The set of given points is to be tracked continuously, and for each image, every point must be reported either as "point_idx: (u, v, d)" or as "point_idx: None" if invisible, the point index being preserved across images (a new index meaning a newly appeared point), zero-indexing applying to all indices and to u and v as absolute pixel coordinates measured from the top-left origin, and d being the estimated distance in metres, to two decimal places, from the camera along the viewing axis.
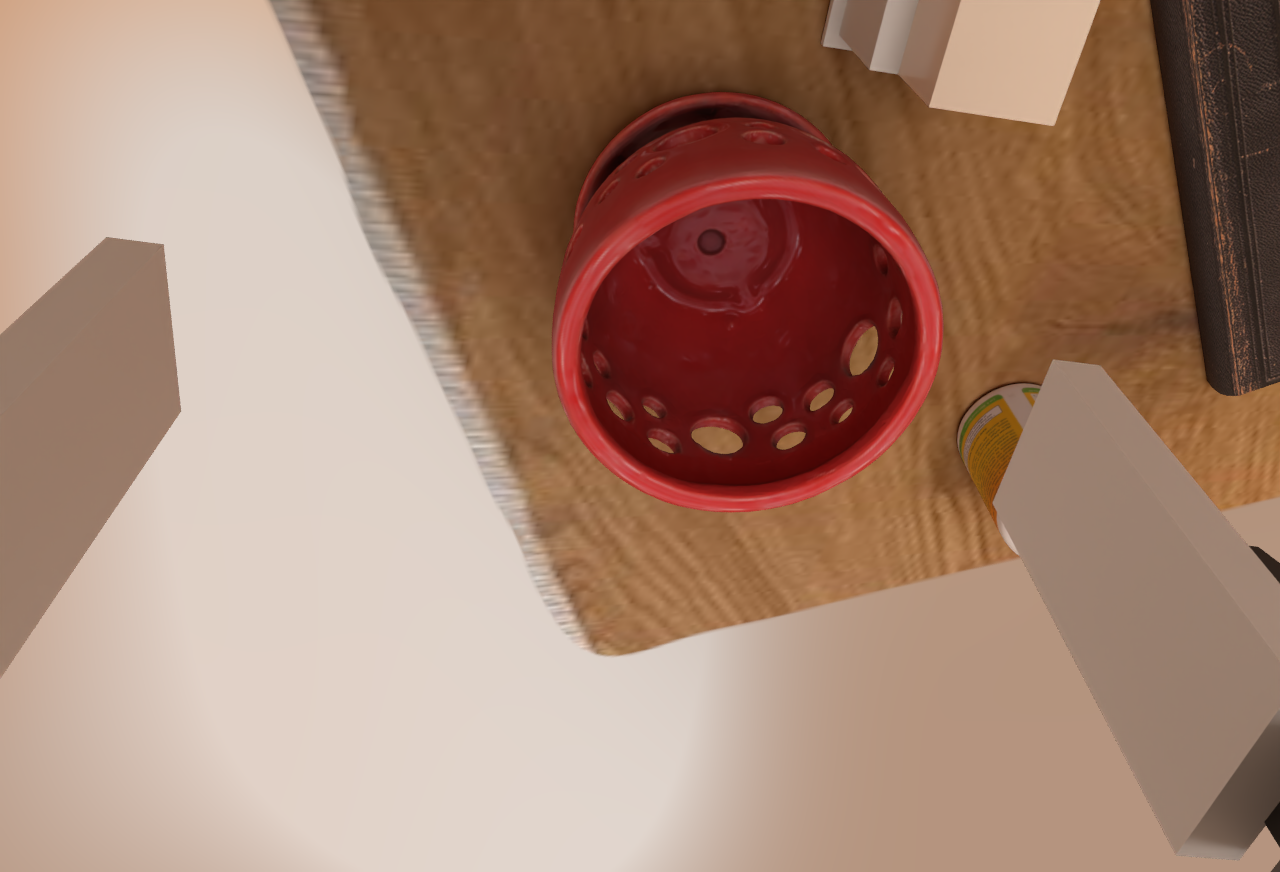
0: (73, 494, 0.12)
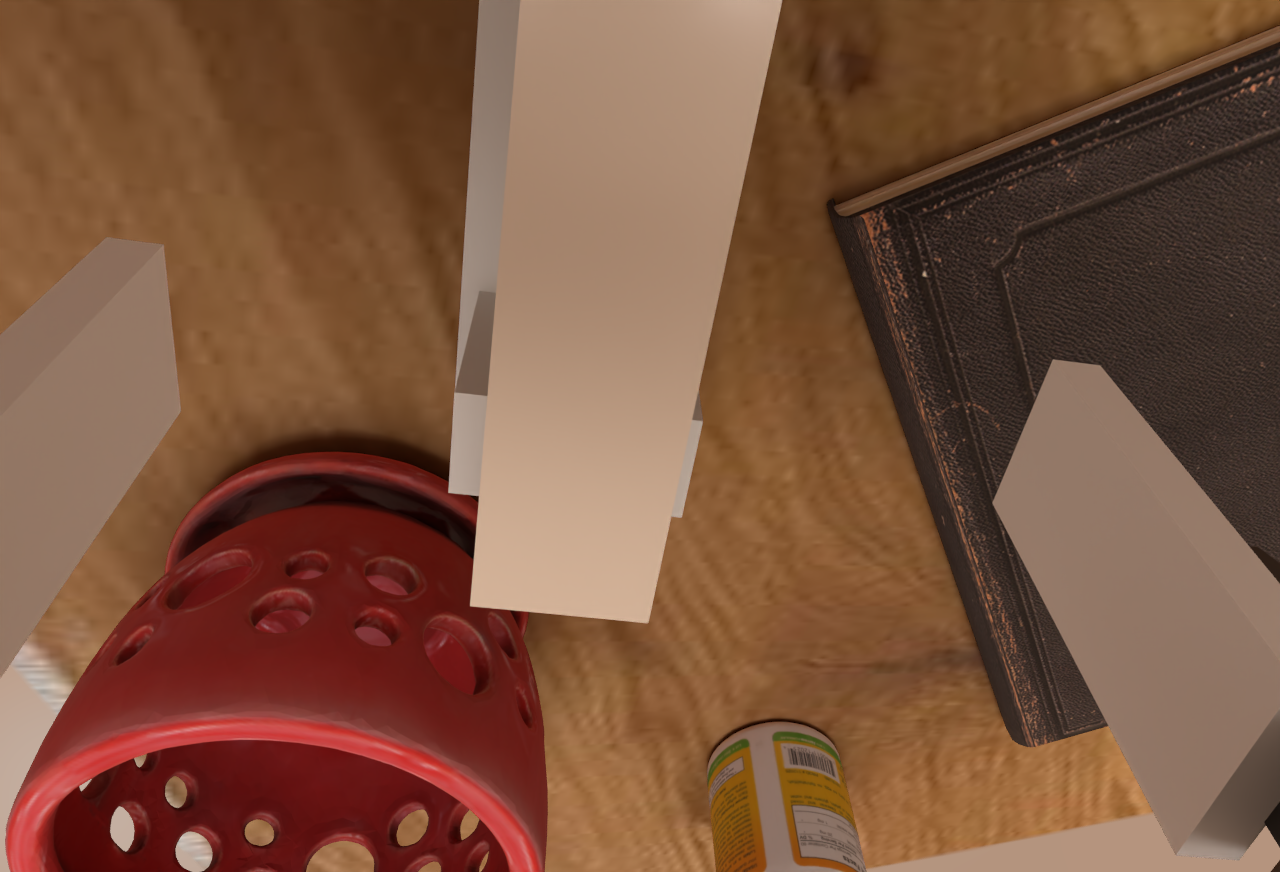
0: (73, 493, 0.12)
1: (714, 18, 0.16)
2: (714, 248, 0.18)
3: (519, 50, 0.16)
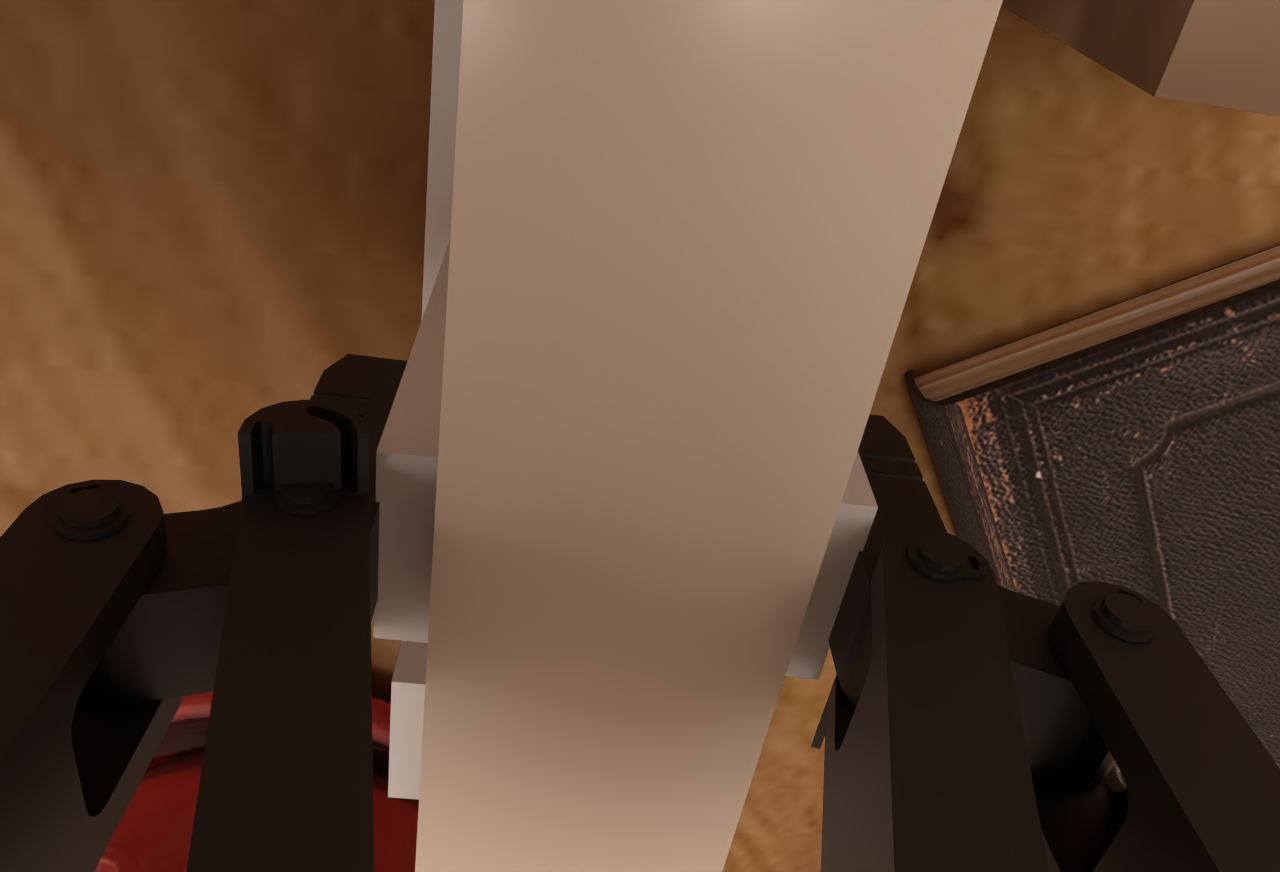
0: None
1: (802, 263, 0.09)
2: (786, 598, 0.11)
3: (451, 316, 0.09)
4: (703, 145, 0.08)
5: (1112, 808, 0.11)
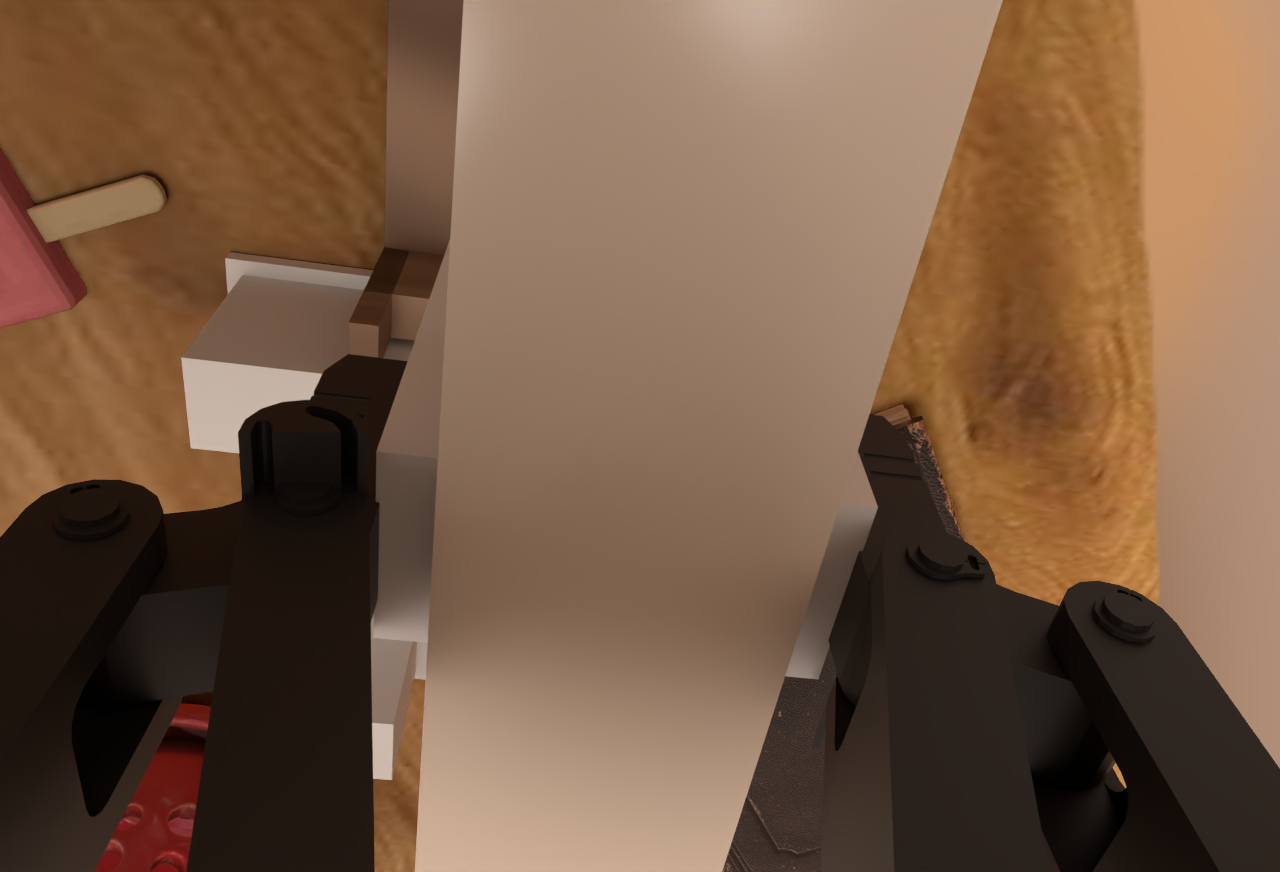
0: None
1: (800, 267, 0.09)
2: (785, 600, 0.11)
3: (451, 319, 0.09)
4: (701, 150, 0.08)
5: (1112, 808, 0.11)
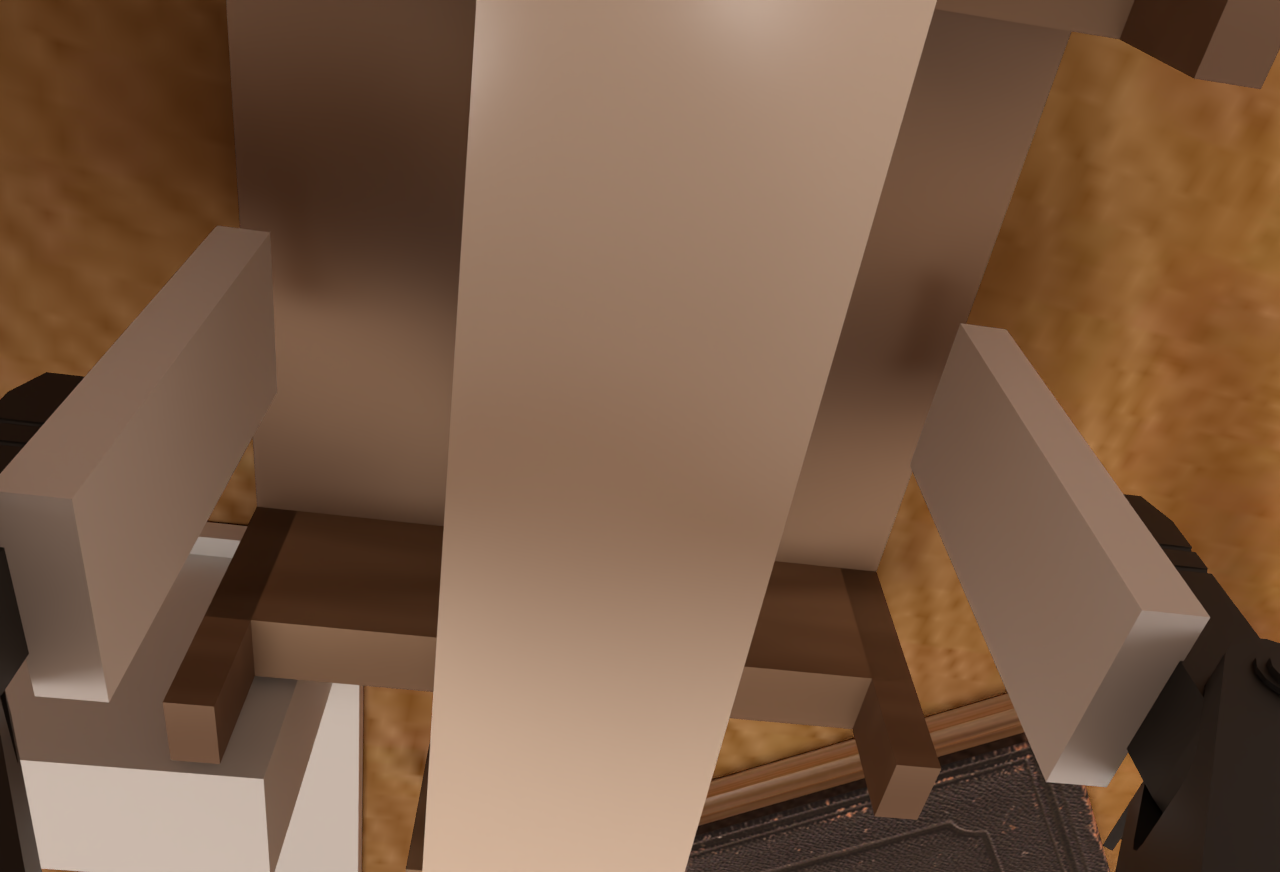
0: (201, 462, 0.13)
1: (774, 207, 0.10)
2: (765, 518, 0.12)
3: (465, 254, 0.10)
4: (686, 99, 0.09)
5: None
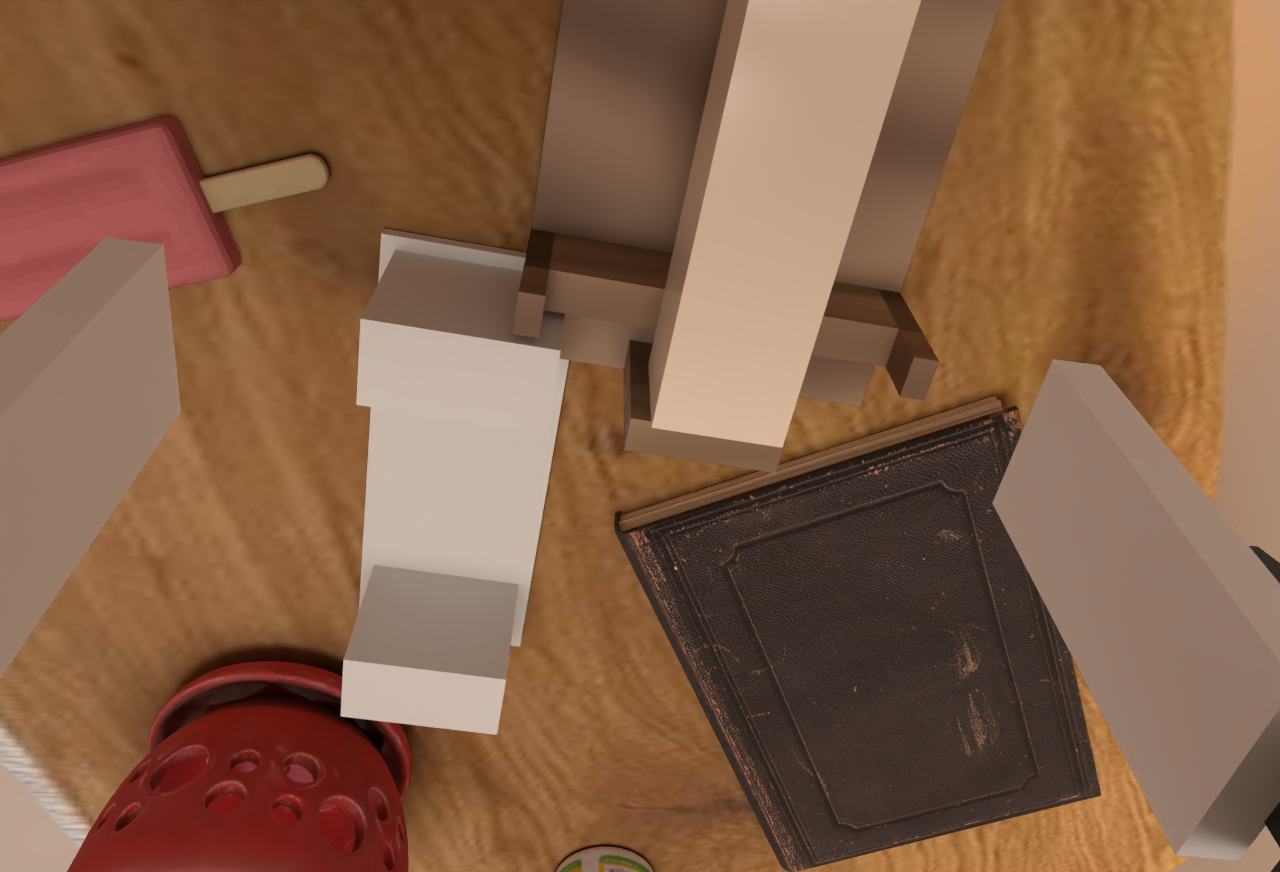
0: (73, 493, 0.12)
1: None
2: (865, 148, 0.26)
3: (751, 0, 0.24)
4: None
5: None
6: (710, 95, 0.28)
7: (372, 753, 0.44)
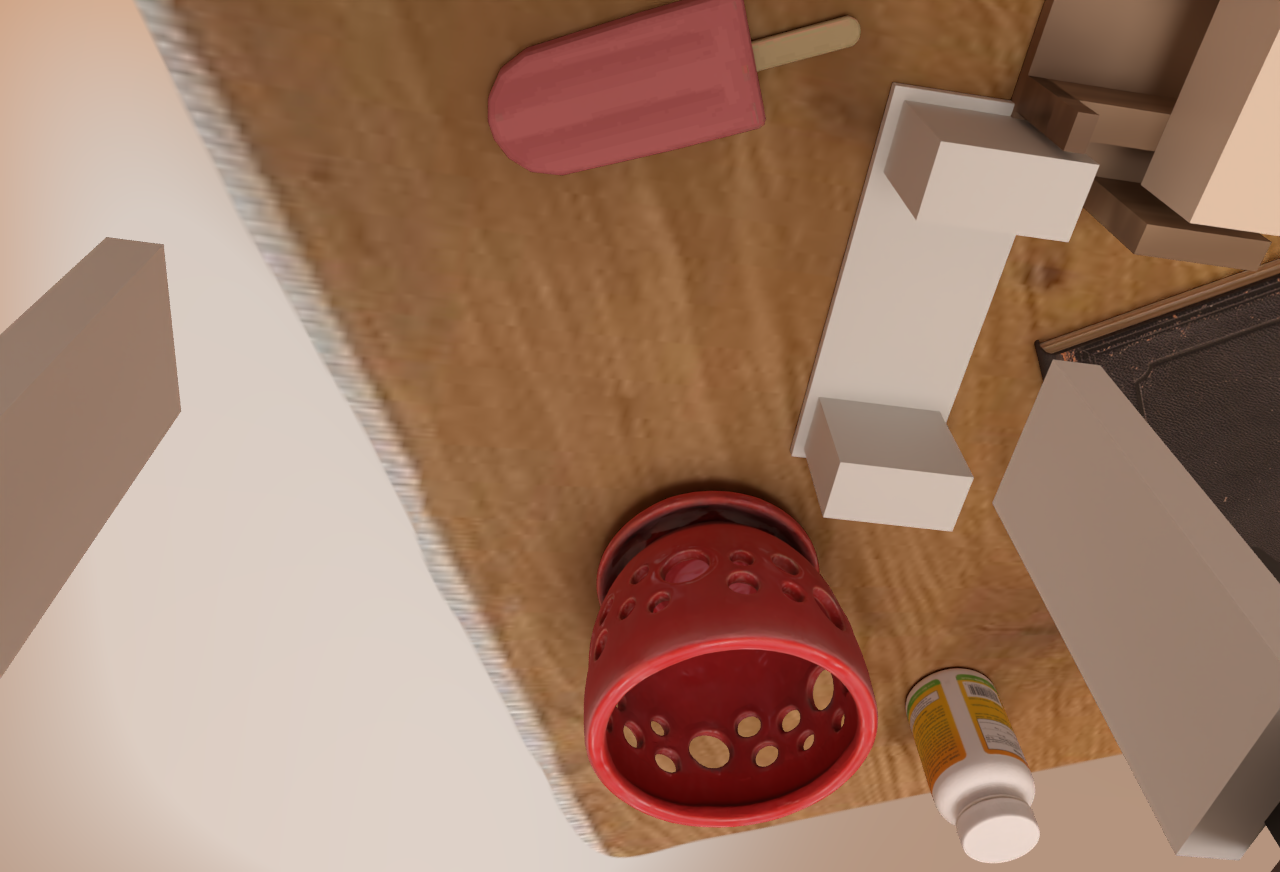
0: (73, 493, 0.12)
1: None
2: None
3: None
4: None
5: None
6: None
7: None
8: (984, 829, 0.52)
